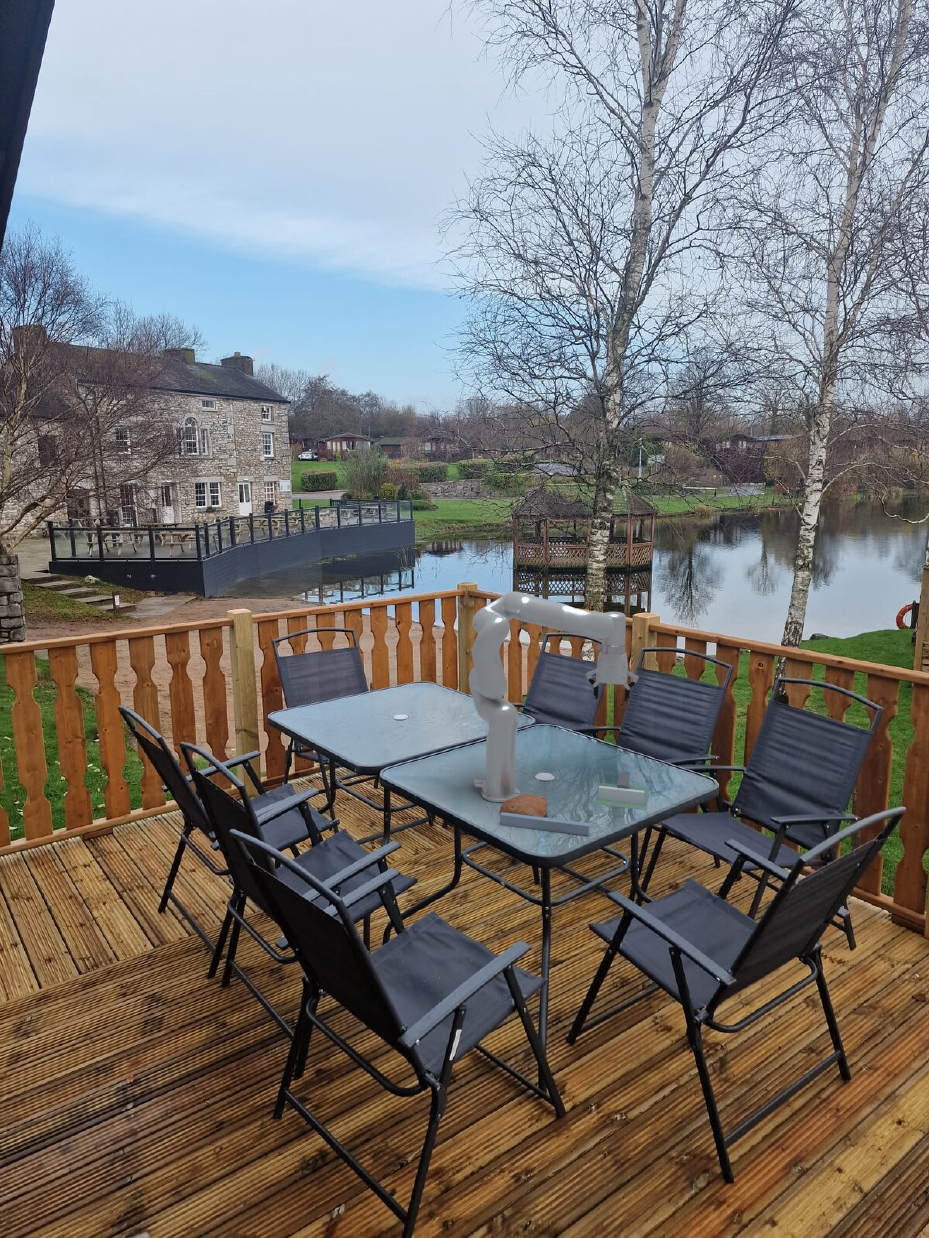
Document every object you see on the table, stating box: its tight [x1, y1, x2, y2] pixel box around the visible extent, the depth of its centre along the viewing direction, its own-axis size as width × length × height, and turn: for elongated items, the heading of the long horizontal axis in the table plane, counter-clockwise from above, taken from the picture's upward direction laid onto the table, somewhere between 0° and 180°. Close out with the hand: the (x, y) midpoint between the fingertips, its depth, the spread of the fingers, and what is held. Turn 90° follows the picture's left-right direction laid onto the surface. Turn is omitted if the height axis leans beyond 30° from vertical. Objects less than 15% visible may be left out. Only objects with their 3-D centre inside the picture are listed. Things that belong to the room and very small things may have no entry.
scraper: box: [598, 770, 644, 805], centre depth 245 cm, size 14×14×5 cm
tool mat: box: [593, 782, 650, 811], centre depth 244 cm, size 16×18×1 cm
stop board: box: [499, 812, 590, 836], centre depth 221 cm, size 26×2×3 cm, turn 74°
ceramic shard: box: [498, 793, 548, 818], centre depth 232 cm, size 15×6×15 cm
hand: (611, 699), depth 254 cm, fingers open, 9 cm apart
